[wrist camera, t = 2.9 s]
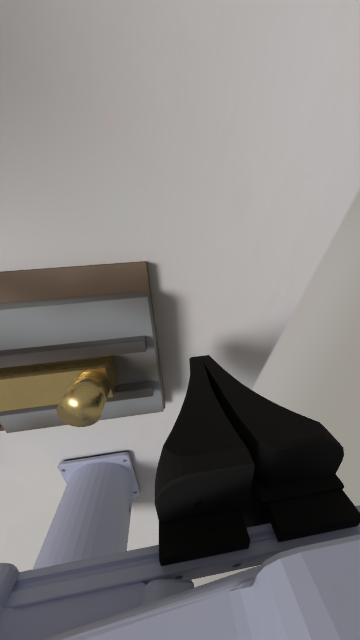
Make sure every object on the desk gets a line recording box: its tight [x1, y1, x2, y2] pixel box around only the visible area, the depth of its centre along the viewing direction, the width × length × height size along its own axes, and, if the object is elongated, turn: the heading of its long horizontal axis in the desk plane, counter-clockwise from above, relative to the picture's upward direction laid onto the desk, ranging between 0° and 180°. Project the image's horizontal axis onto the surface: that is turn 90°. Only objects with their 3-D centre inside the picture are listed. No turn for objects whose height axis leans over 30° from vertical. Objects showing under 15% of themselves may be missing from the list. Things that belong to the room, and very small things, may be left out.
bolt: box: [0, 356, 118, 427], centre depth 10 cm, size 2×8×4 cm, turn 94°
